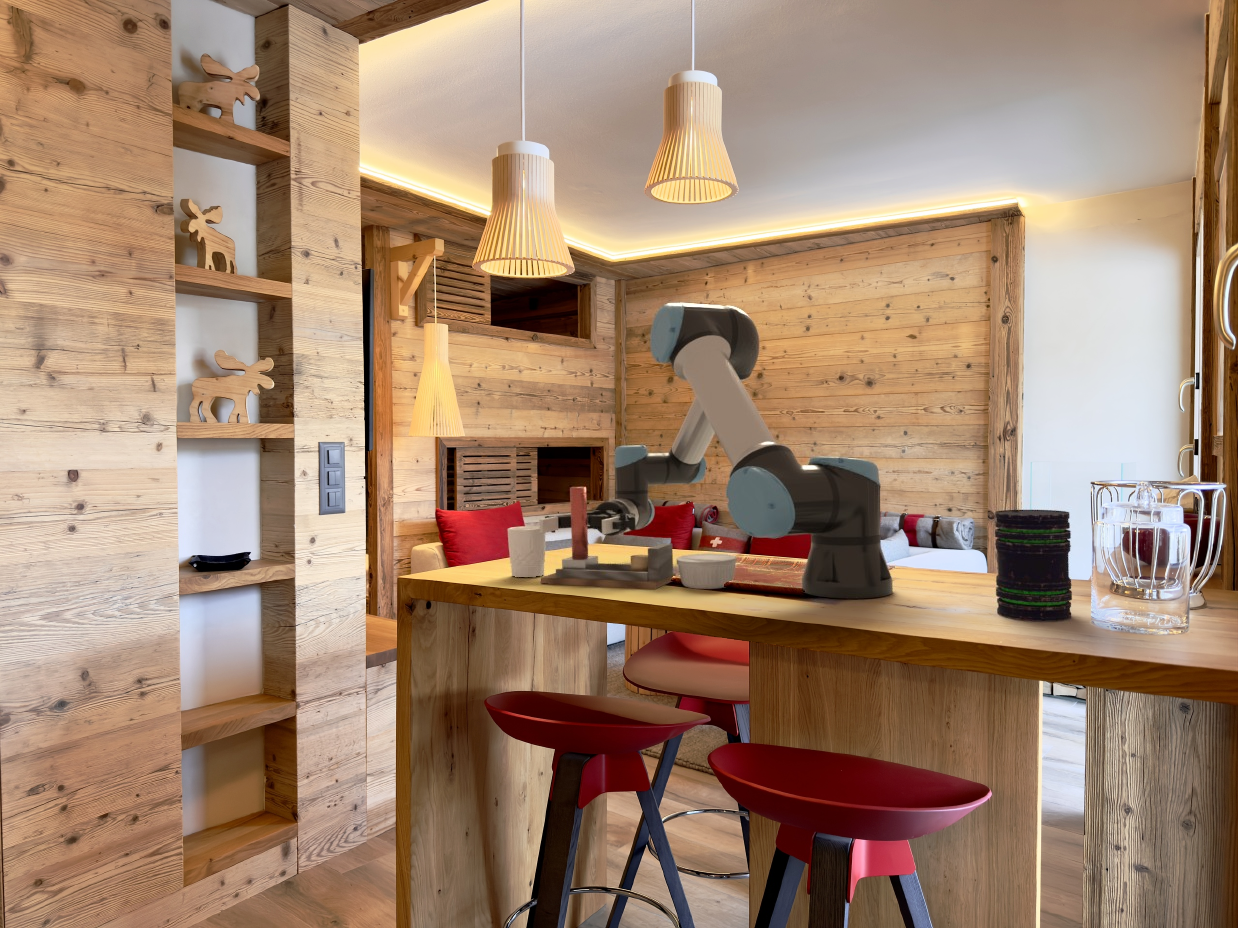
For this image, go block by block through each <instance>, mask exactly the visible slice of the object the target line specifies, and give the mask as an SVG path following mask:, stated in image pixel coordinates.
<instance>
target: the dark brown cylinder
mask: <svg viewBox="0 0 1238 928" xmlns="http://www.w3.org/2000/svg"><path fill="white" fill-rule="evenodd" d="M994 515H995V516H994V517H995V518H996V519H995V520H996V521H995V524H994V527H995V529H994V537H995V544H994V545H995V549H996V550H997V575H996V577H995V579H996V580H995V582H996V587H995V596H996V597H998V598H997V599H996V602H997V606H998V607H997V608H996V611H997V612H996V613H997V614H998V615H999V616H1000V617H1003V618H1007V619H1012V620H1016V621H1017V620H1018V621H1024V622H1025V621H1027V622H1039V623H1041V622H1042V623H1046V622H1047V623H1048V622H1049V623H1050V622H1052V623H1055V622H1064V621H1068V620H1070V619H1072V612H1071V607H1072V602H1071V601H1072V599H1073V591H1072V590H1071V589H1072V586H1073V585H1072V579H1071V578H1070V573H1069V572H1070V569H1069V568H1070V567H1069V565H1070V564H1069V562H1070V561H1069V553H1070V552H1071V548H1072V545H1071V540H1070V539H1071V538H1072V537H1071V535H1072V533H1071V532H1072V531H1071V530H1070V526H1071V525H1070V522H1069V519H1070V511H1067V510H1066V511H1065V510H1057V509H1055V510H1053V509H1050V510H1049V509H1004V510H997V511H995V512H994Z"/></svg>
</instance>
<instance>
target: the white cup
mask: <svg viewBox="0 0 1238 928" xmlns="http://www.w3.org/2000/svg"><path fill="white" fill-rule="evenodd" d="M507 538H508V540H507V542H508V550H509V551H508V552H509V563H510V568H511V577H512V576H516V577H533V578H537V577H536V576H540V577H543V576H544V575H545V562H546V559H545V558H546V533H540V528H539V525H532V526H531V525H526V526H525V525H524V526H514V527H509V528H507ZM542 575H543V576H542Z"/></svg>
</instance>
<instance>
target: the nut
mask: <svg viewBox="0 0 1238 928" xmlns="http://www.w3.org/2000/svg"><path fill="white" fill-rule="evenodd" d="M630 564H631V571H635V572H648V554H634V555H630Z"/></svg>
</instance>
